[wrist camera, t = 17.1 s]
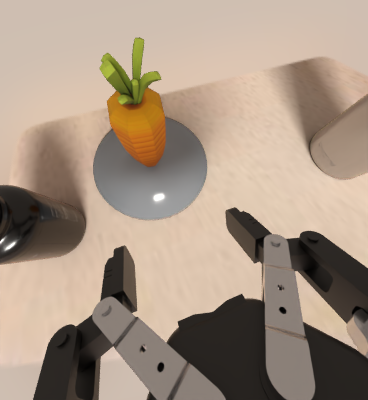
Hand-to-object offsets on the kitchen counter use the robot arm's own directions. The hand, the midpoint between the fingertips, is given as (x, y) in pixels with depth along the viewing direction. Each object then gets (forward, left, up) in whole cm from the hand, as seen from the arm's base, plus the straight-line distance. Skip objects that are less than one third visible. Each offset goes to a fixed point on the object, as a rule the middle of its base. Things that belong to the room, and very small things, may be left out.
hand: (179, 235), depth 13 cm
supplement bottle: (+14, -6, -10) cm, 18 cm away
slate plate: (0, -11, -10) cm, 15 cm away
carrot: (0, -11, -9) cm, 14 cm away
